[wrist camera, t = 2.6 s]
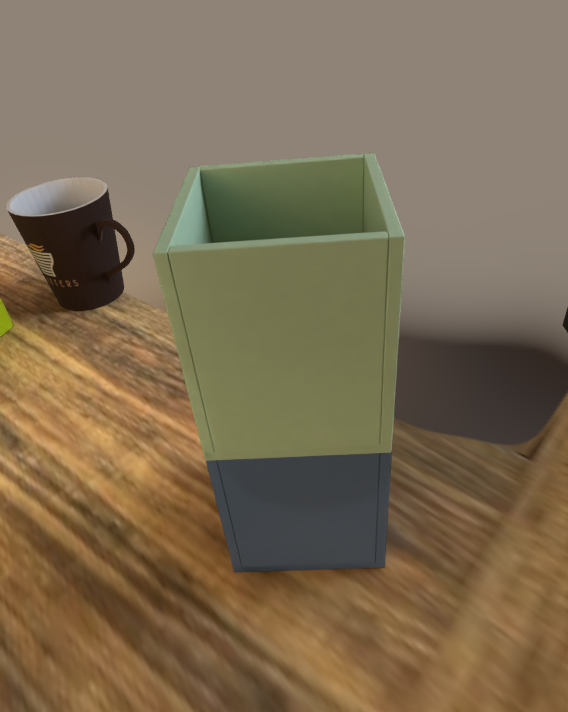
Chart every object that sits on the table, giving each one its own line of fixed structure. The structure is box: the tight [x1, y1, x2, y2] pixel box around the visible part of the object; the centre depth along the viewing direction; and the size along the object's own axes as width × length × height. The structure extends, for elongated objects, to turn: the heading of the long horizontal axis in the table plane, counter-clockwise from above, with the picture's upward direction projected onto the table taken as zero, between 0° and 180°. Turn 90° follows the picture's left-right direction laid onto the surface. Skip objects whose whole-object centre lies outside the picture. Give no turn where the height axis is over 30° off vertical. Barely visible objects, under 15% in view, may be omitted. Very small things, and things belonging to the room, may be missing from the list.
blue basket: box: [206, 451, 392, 572], centre depth 29 cm, size 8×8×9 cm
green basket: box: [153, 153, 405, 461], centre depth 23 cm, size 8×8×10 cm
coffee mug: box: [6, 177, 134, 311], centre depth 50 cm, size 12×9×10 cm
